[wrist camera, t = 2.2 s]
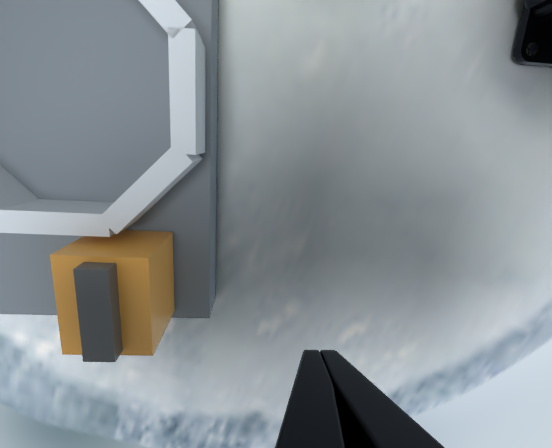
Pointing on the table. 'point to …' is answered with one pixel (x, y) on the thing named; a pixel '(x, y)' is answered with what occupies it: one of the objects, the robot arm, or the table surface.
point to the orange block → (114, 293)
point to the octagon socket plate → (107, 138)
